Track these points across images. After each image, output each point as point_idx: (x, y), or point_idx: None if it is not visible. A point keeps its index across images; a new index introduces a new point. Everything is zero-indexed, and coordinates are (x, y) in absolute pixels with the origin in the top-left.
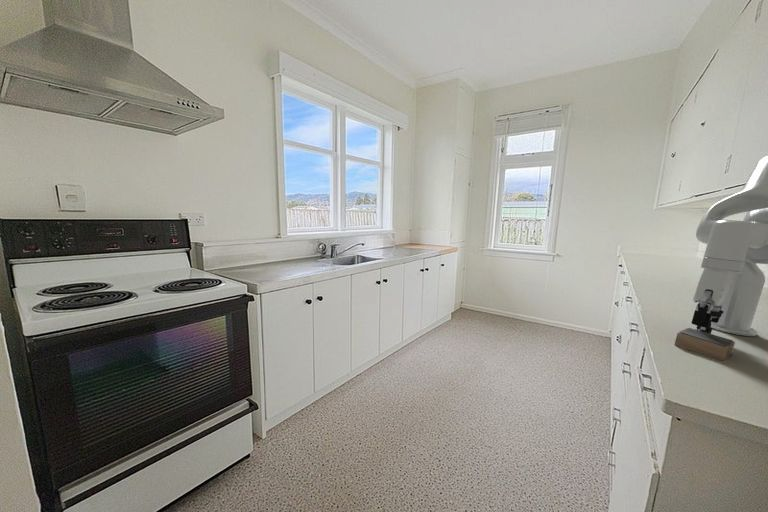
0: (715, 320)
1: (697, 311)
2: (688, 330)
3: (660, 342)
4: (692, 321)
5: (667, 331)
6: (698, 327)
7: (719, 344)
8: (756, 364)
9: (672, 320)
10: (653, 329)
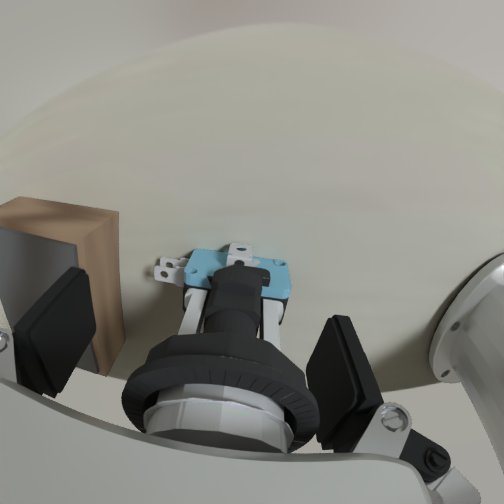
0: (308, 373)
1: (20, 338)
2: (26, 247)
3: (2, 160)
4: (65, 275)
5: (179, 128)
6: (212, 280)
7: (11, 326)
8: (111, 371)
9: (467, 152)
10: (139, 74)
